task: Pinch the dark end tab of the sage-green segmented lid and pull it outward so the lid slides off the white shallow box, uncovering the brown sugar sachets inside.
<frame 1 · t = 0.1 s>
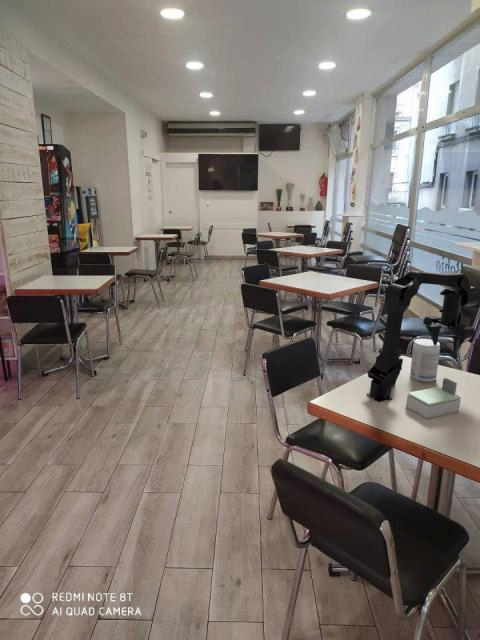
hand: (445, 348, 161), 15 cm above the table, fingers open, 9 cm apart
supplement tub: (422, 378, 172), on the table, touching gripper
white shallow box: (432, 409, 146), on the table
lid: (434, 390, 144), point 7 cm above the table, slide at 0.0 cm
canned food: (384, 384, 166), on the table
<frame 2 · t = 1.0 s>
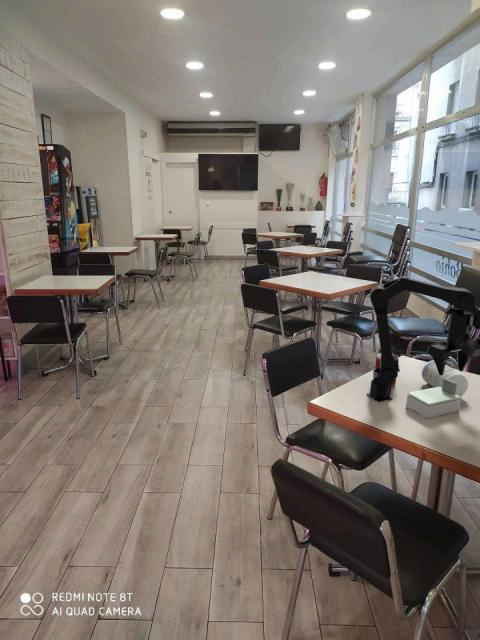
hand: (450, 373, 146), 12 cm above the table, fingers open, 9 cm apart
supplement tub: (431, 370, 167), point 5 cm above the table
everything else where it was.
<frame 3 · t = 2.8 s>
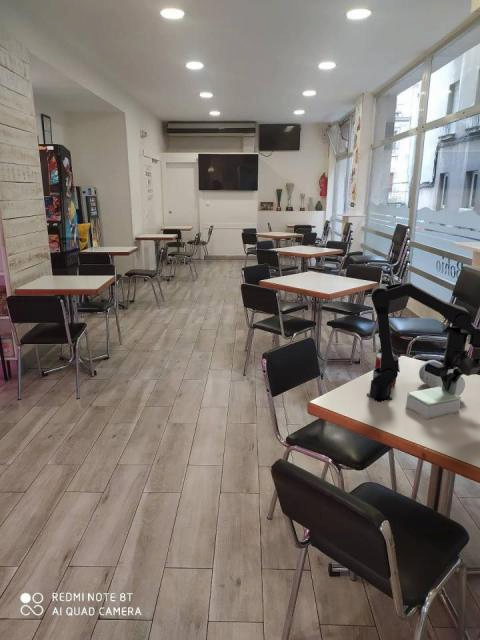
hand: (448, 390, 147), 6 cm above the table, fingers closed on lid
supplement tub: (429, 370, 167), point 5 cm above the table
lid: (434, 390, 144), point 7 cm above the table, slide at 0.0 cm, touching gripper
everything else where it was.
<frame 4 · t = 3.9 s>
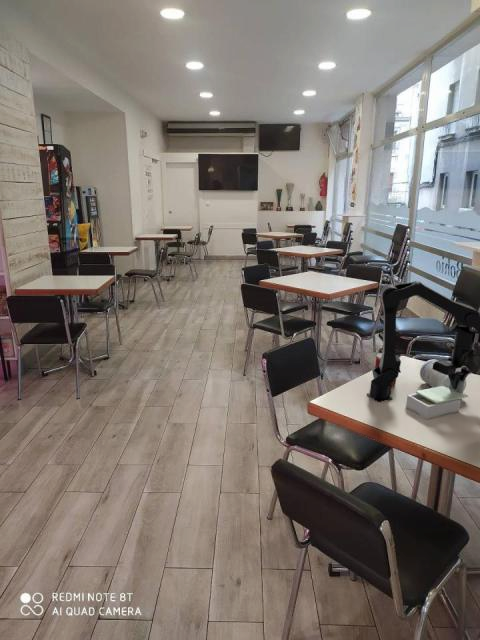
hand: (456, 388, 148), 6 cm above the table, fingers closed, pressing on lid
lid: (442, 388, 145), point 7 cm above the table, slide at 3.4 cm, touching gripper
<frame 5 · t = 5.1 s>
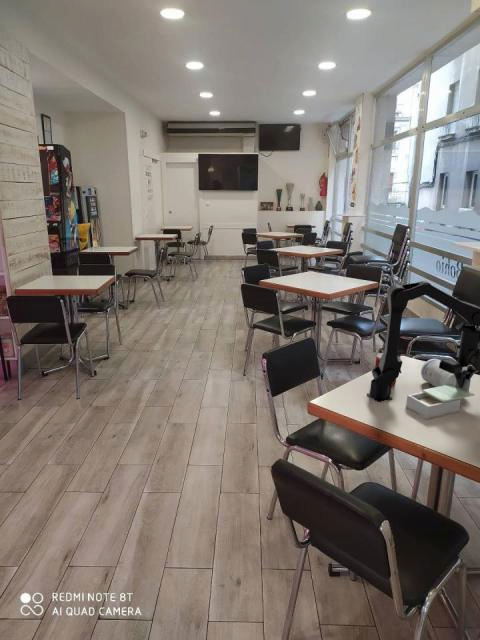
hand: (462, 387, 149), 6 cm above the table, fingers closed on lid
supplement tub: (430, 369, 168), point 5 cm above the table, touching lid
lid: (449, 387, 147), point 7 cm above the table, slide at 6.3 cm, touching gripper, supplement tub
everything else where it was.
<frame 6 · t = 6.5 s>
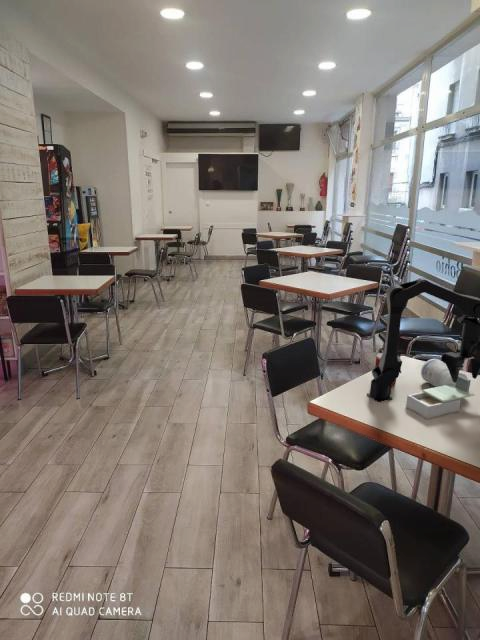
hand: (464, 380, 149), 9 cm above the table, fingers open, 9 cm apart
lid: (449, 387, 147), point 7 cm above the table, slide at 6.3 cm, touching supplement tub
everything else where it was.
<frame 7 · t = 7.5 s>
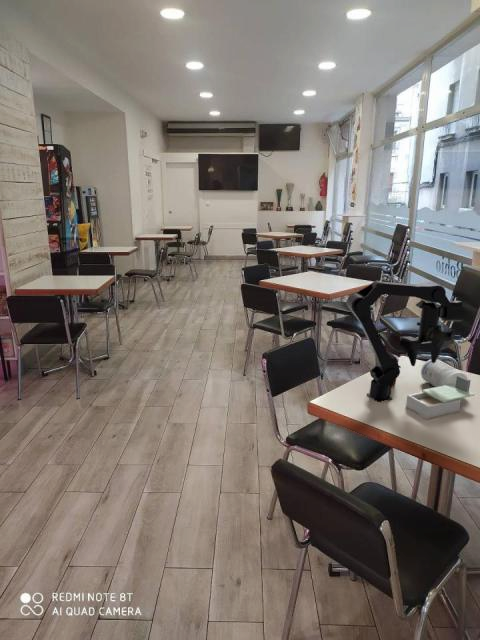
hand: (423, 364, 152), 12 cm above the table, fingers open, 9 cm apart
nothing on the table moved.
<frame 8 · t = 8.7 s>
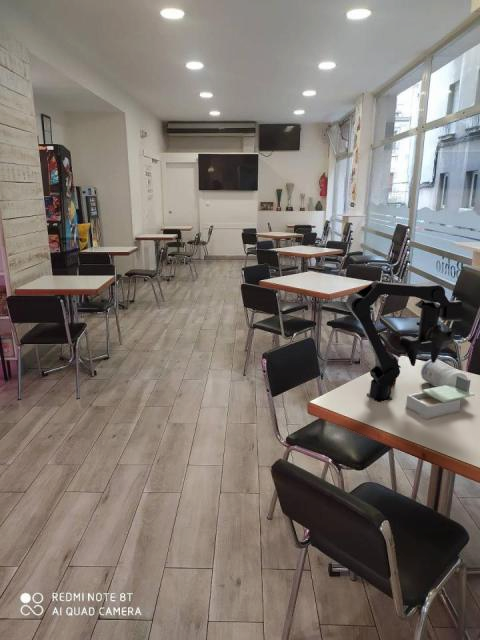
hand: (423, 364, 152), 13 cm above the table, fingers open, 9 cm apart
nothing on the table moved.
at the end: lid slide at 6.3 cm; the gripper is holding nothing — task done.
